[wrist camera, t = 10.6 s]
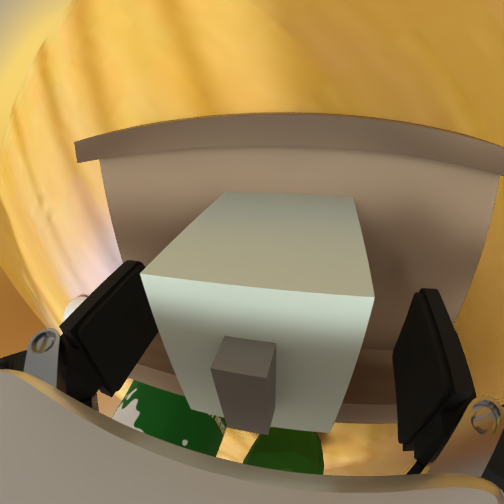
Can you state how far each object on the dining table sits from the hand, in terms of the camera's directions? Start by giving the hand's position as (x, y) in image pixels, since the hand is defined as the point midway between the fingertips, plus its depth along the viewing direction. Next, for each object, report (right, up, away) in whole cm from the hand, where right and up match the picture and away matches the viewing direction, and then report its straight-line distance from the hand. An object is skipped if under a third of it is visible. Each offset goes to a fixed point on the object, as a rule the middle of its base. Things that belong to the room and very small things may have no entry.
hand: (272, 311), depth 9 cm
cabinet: (+1, +2, +3) cm, 3 cm away
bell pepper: (+4, -18, +17) cm, 25 cm away
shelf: (+2, +3, +6) cm, 7 cm away
